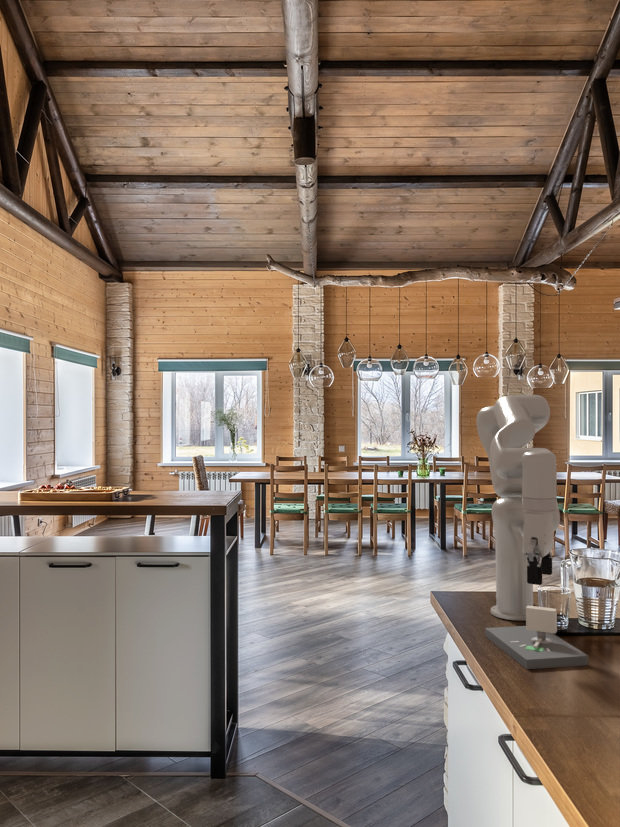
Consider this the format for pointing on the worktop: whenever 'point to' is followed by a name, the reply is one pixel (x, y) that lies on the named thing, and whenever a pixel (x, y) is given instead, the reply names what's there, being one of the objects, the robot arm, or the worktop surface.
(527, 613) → the door lever handle
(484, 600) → the worktop surface
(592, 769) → the worktop surface
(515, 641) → the dial board
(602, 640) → the worktop surface
